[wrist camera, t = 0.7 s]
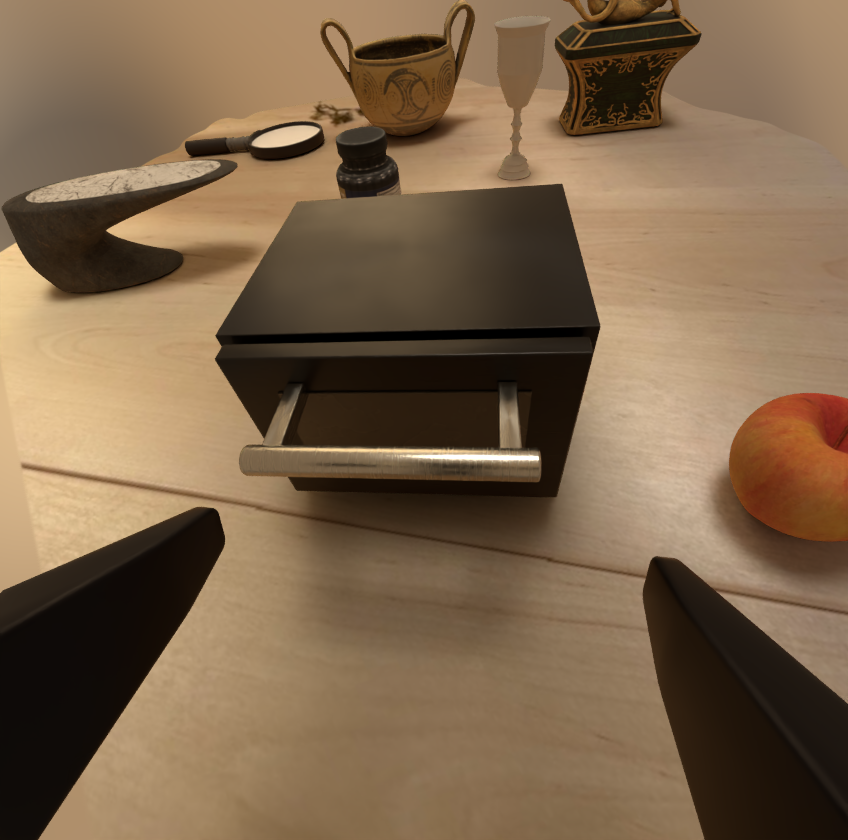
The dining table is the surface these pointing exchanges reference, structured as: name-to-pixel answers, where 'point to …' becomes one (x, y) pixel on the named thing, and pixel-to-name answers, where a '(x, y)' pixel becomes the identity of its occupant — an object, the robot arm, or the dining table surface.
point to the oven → (420, 271)
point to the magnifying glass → (265, 141)
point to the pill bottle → (366, 164)
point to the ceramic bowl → (404, 74)
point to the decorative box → (620, 63)
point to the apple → (795, 465)
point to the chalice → (519, 77)
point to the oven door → (412, 413)
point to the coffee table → (102, 224)
